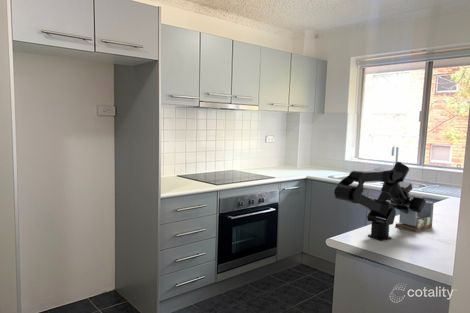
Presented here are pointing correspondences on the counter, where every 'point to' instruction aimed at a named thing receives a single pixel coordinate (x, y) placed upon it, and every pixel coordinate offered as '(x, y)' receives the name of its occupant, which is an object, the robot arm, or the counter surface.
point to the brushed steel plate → (426, 211)
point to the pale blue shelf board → (409, 218)
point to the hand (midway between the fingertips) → (407, 212)
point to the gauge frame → (421, 225)
